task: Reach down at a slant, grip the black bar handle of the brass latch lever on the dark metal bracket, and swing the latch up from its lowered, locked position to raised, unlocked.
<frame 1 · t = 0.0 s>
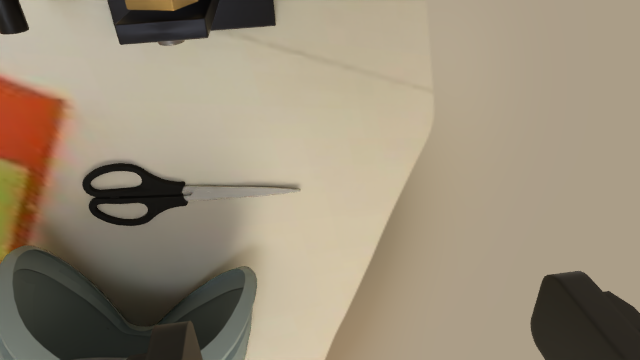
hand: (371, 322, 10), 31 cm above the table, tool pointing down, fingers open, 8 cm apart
scissors: (197, 187, 44), on the table
grey curved shell: (145, 296, 50), on the table
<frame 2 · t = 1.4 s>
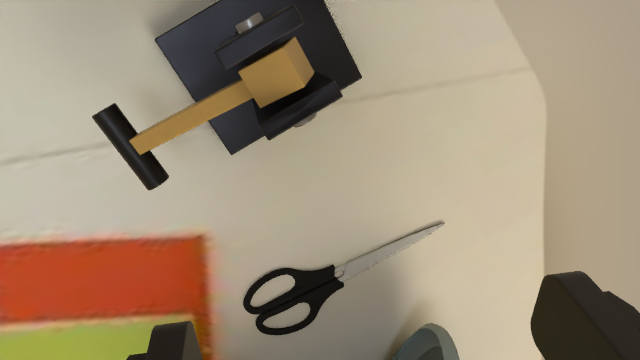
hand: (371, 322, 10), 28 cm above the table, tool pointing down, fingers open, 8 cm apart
scissors: (345, 265, 43), on the table
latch: (202, 111, 26), point 10 cm above the table, hinge at -25.0°
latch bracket: (262, 58, 35), on the table
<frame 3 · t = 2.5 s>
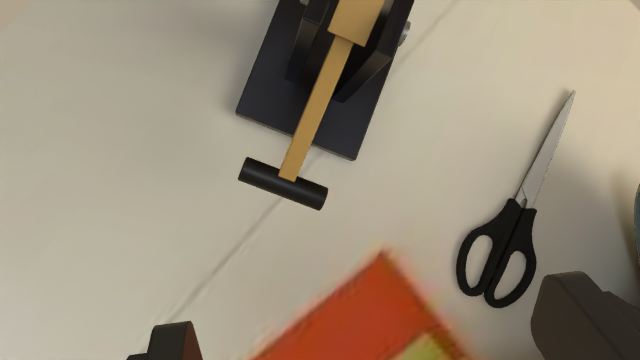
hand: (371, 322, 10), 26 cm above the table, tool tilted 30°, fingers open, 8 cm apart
scissors: (521, 192, 39), on the table
grey curved shell: (619, 328, 40), on the table
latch: (318, 99, 27), point 10 cm above the table, hinge at -25.0°
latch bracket: (321, 69, 37), on the table
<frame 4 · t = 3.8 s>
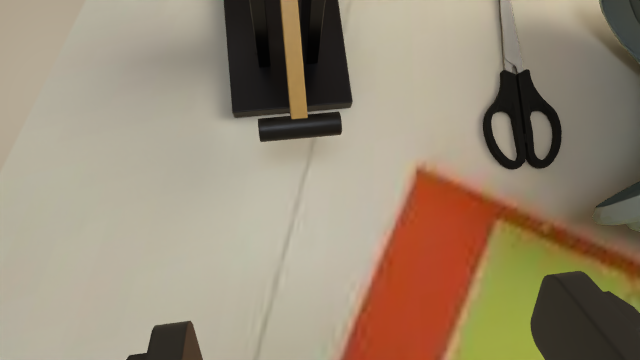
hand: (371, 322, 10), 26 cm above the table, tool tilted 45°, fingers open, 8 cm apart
scissors: (507, 64, 42), on the table
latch: (291, 37, 30), point 10 cm above the table, hinge at -25.0°
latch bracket: (286, 49, 40), on the table
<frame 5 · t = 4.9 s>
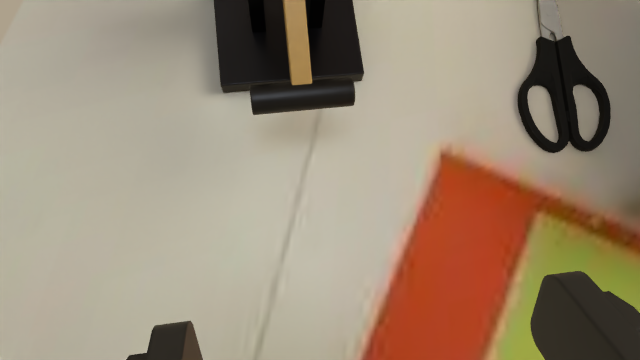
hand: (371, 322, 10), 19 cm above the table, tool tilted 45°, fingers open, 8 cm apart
scissors: (544, 31, 36), on the table
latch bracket: (284, 13, 34), on the table
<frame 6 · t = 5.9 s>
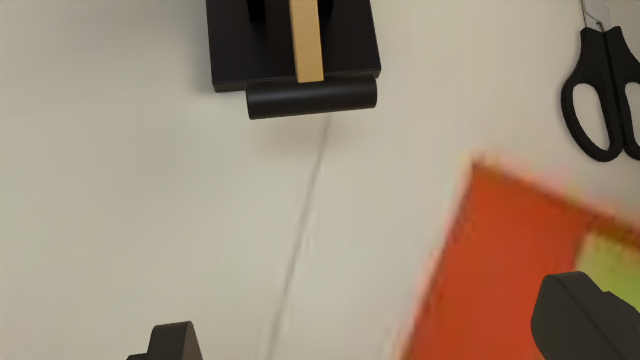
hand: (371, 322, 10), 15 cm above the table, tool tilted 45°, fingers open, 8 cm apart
scissors: (588, 21, 31), on the table
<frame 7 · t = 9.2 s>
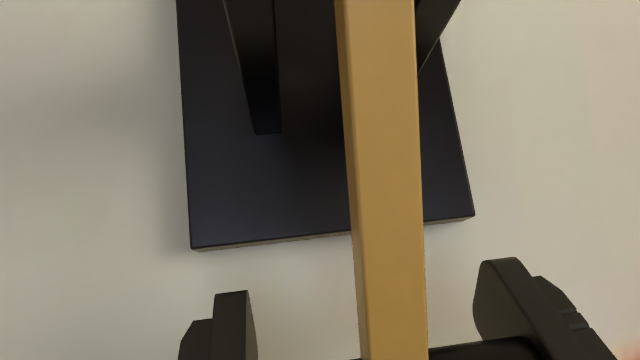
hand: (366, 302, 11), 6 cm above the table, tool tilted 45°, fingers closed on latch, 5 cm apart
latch: (377, 91, 8), point 10 cm above the table, hinge at -25.1°, touching gripper
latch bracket: (314, 87, 18), on the table
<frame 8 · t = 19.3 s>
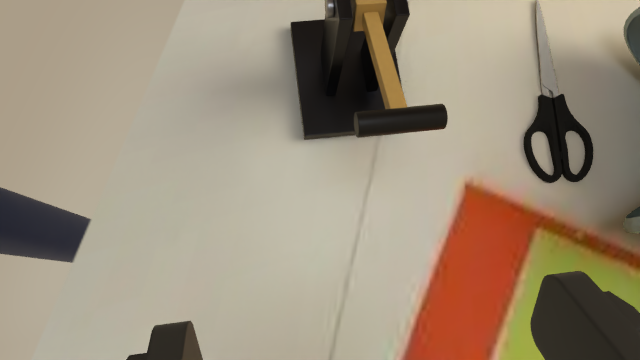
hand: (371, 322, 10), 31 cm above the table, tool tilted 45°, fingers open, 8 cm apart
scissors: (544, 89, 47), on the table
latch: (380, 54, 31), point 14 cm above the table, hinge at 18.0°
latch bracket: (347, 78, 45), on the table
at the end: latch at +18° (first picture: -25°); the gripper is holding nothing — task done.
